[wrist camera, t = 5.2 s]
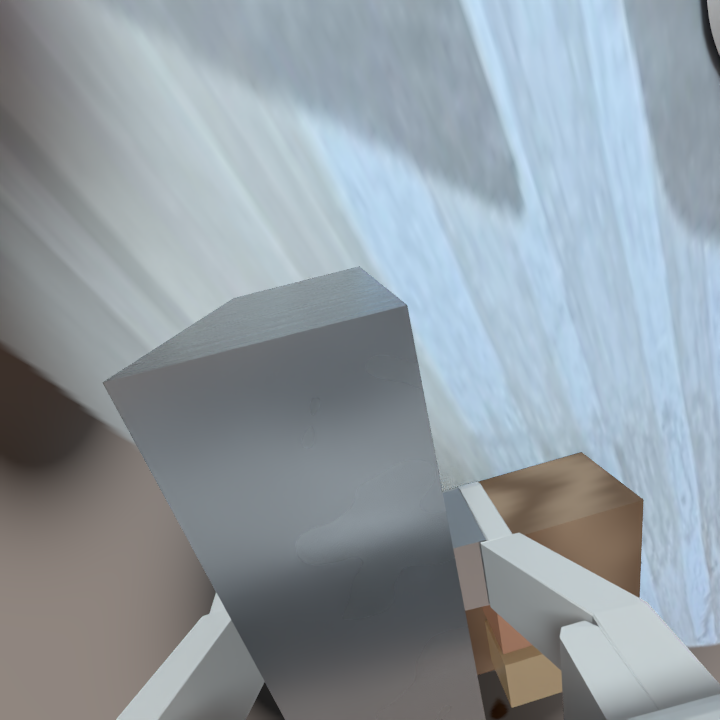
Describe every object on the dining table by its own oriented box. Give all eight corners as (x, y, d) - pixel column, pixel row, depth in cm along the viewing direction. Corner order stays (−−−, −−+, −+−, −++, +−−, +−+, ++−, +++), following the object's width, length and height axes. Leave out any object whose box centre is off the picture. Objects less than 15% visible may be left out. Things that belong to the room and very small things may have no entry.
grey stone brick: (359, 266, 8) (406, 304, 3) (438, 611, 12) (510, 846, 7) (233, 298, 8) (102, 383, 3) (355, 632, 12) (374, 883, 7)
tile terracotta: (539, 543, 20) (568, 582, 18) (543, 591, 22) (571, 633, 19) (474, 562, 20) (495, 604, 18) (482, 609, 22) (503, 654, 19)
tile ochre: (544, 602, 22) (572, 645, 20) (548, 643, 23) (574, 688, 21) (484, 620, 22) (505, 665, 19) (491, 660, 23) (511, 707, 21)
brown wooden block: (581, 452, 25) (643, 499, 20) (585, 563, 29) (638, 625, 24) (408, 501, 25) (430, 562, 20) (434, 608, 28) (458, 681, 23)
